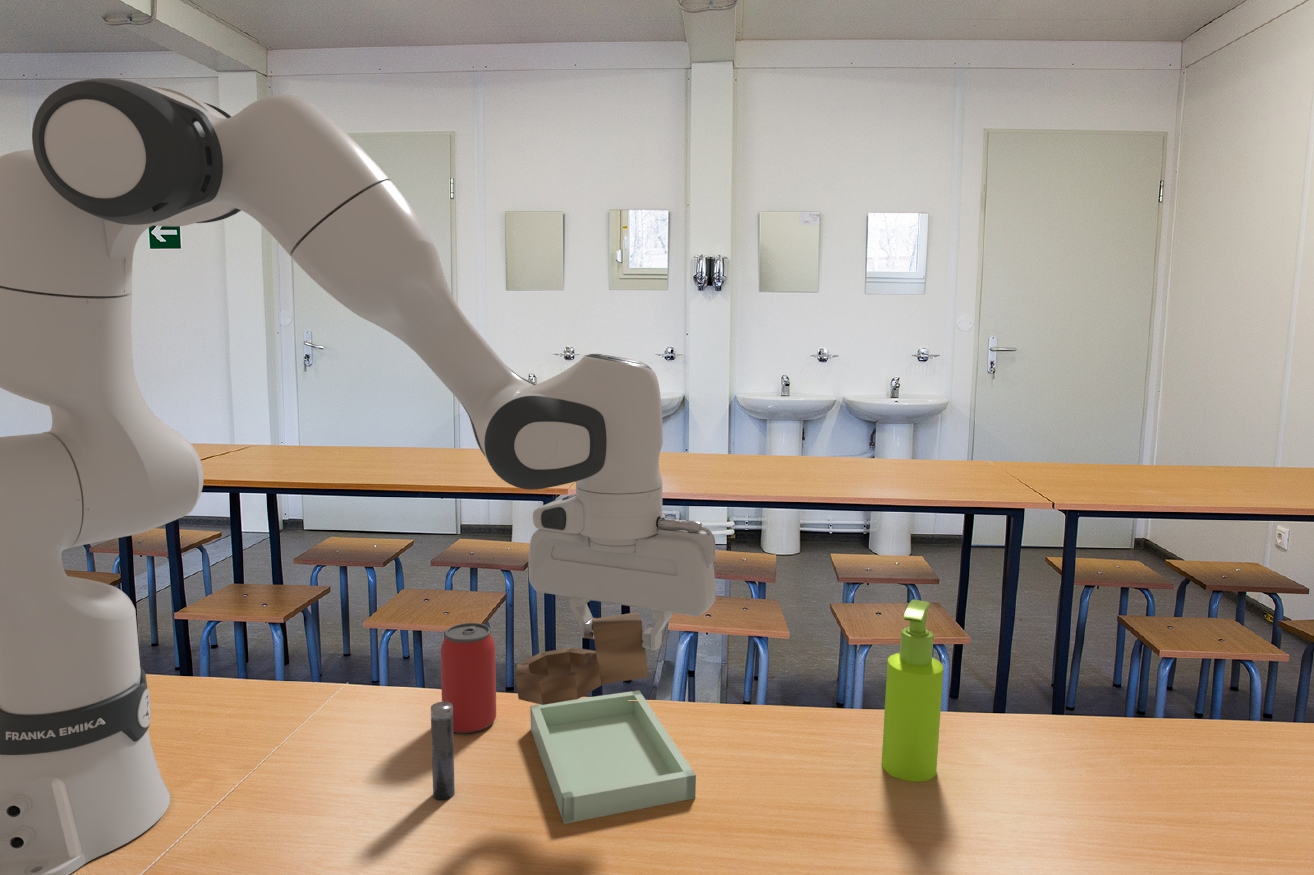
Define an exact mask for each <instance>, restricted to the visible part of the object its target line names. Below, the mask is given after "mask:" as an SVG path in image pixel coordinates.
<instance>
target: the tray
mask: <svg viewBox="0 0 1314 875" xmlns="http://www.w3.org/2000/svg"><path fill="white" fill-rule="evenodd" d="M628 700H642V701H628ZM529 711H530V731H531V734H532V737H533V738H532V739H533V740H534V743H535V746H536V748H537V751H538V754H539V758H540V760H541V764H542V765H543V769H544V771H545V774H546V777H547V779H548V783H549V786H550V787H551V788H550V789H551V791H552V794H553V797H554V800H555V802H556V805H557V808H558V812H559V814H560V817H561V820H562V822H563V824H564V825H566V824H570V823H571V824H572V823H575V822H580V821H586V820H591V819H596V818H600V817H601V818H602V817H606V816H612V815H617V814H621V813H626V812H631V811H636V810H641V809H647V808H653V807H657V806H662V805H667V804H673V803H676V802H677V803H678V802H683V801H688V800H692V799H696V793H697V790H696V789H697V787H696V786H697V781H696V780H697V774H696V773H695V772H694V770H693V769H692V767H691V766H690V764H689V762H688V761H687V759H686V758H685V756H684V754H683V753H682V752H681V750H680V749H679V748H678V746H677V745H676V743H675V741H674V740H673V738H672V737H671V736H670V733H668V731H667V729H666V728H665V727H664V725H663V724H662V722H661V720H660V719H659V718H658V716H657V714H656V713H655V712H654V710H653V709H652V707H651V706H650V704H649V702H648V701H647V700H646V698H645V697H644V695H643V694H642V692H641V691H640V690H633V691H625V692H617V693H611V694H603V695H596V696H589V697H581V698H579V699H576V700H570V701H564V702H558V703H552V704H546V705H541V704H532V705H530V710H529Z"/></svg>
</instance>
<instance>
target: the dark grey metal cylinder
mask: <svg viewBox="0 0 1314 875" xmlns="http://www.w3.org/2000/svg"><path fill="white" fill-rule="evenodd" d="M430 729H431V730H430V732H431V736H430V737H431V762H432V763H431V764H432V766H431V769H432V797H433V799H434V800H436V801H440V802H441V801H443V802H444V801H447V800H450V799H451V798H453V797H454V796H455V793H456V792H455V790H456V788H455V752H454V748H455V747H454V745H455V744H454V731H453V705H452V703H450V702H442V701H439V702H438V701H437V702H435V703H433V704H432V705H431V706H430Z"/></svg>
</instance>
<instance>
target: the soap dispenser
mask: <svg viewBox="0 0 1314 875" xmlns="http://www.w3.org/2000/svg"><path fill="white" fill-rule="evenodd" d="M930 607H931V602H929V601H925V600H918V599H912V600H910V602H909V603H908V605H907V607H906V609H905V612H904V614H903V617H902V618H903V620H904V621H908V622H909V626H907V627H904V628H902V629H901V632H900V643H899V644H900V646H899V652H896V653H893V654H891V655H889V656H888V658H887V665H886V667H887V668H886V682H885V698H884V701H885V702H884V716H883V729H882V731H883V732H882V746H881V747H882V750H881V766H882V767H881V768H882V769H883V770H884V771H885V772H886V773H888V775H890V776H891V777H894V778H896V779H900V780H901V781H902V780H903V781H906V782H914V783H918V782H919V783H921V782H922V783H923V782H927V781H931V779H933V778H935V777H936V775H937V765H938V755H939V753H938V752H939V751H938V750H939V738H940V737H939V736H940V723H941V711H942V710H941V709H942V698H943V697H942V695H943V681H944V680H943V679H944V665H943V664H942V662H941V661H939V660H938V659H936V658H934V657H933V646H934V633H933V632H932V631H931V630H929V629H927V616H928V611H929V610H930Z"/></svg>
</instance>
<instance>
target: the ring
mask: <svg viewBox="0 0 1314 875" xmlns="http://www.w3.org/2000/svg"><path fill="white" fill-rule="evenodd" d="M596 618H597V617H596ZM592 625H593V633H594V639H593V640H594V648H595V650H591V649H586V648H580V647H579V648H578V647H567V648H561V649H554V650H548V651H541V652H539V653H537V654H536V655H533V656H531V657H529V658H527V659H525V660H523V661H520V662H519V663H516V669H515V670H516V671H515V682H516V689H517V690H516V691H517V696H518V700H519V701H520V700H521V701H525V702H528V703H533V704H535V705H538V704H541V705H546V704H552V703H558V702H564V701H570V700H576V699H581V698H584V696H586V695H587V694H589V693H591V692H593V691H595V690H596V689H598V688H600V687H601V686H602V685H606V684H607V685H609V684H613V683H620V682H626V681H632V680H637V679H643V678H649V671H648V662H647V655H646V649H645V648H643V647H642V643H643V642H644V641H643V640H642V633H643V632H644V630H643V622H642V618H641V616H640V612H639V611H635V612H631V613H624V614H615V615H611V616H605V617H604V616H603V617H598V618H597V619H592Z"/></svg>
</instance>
